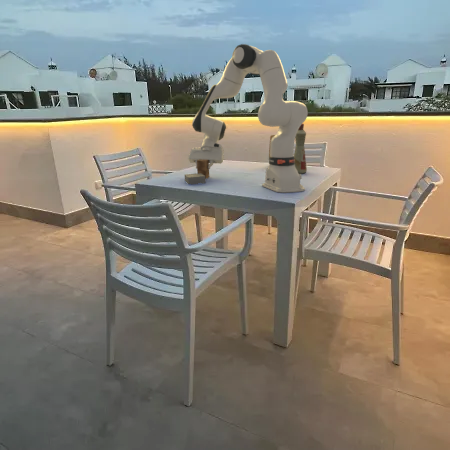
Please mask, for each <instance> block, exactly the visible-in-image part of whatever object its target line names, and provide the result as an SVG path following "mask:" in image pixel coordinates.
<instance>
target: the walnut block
mask: <svg viewBox="0 0 450 450" xmlns="http://www.w3.org/2000/svg"><path fill="white" fill-rule="evenodd" d="M209 164H210V163H209V160H207V159H199V160H197V173H201V174H203V175H204V176H205V180H206V178H207V179H209V178H210V169H207V165H209ZM197 173H196V174H197ZM208 177H209V178H208Z"/></svg>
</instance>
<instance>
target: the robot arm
mask: <svg viewBox="0 0 450 450" xmlns="http://www.w3.org/2000/svg"><path fill="white" fill-rule="evenodd" d="M281 61H282V60H281V59H280V56H279V55H278V53H277V52H276V51H275V50H273V49H267V50H264V51H263V50H261V49H259V48H257V47H255V46H252V45H249V44H246V43H245V44H244V43H241V44H239V45H237V46H235V48H234V49H233V52H232V57H231V58H230V59H229V60H228V62H227V64H226V66H225V68H224V71H223V73H222V76H221V77H220V80H219V82H218V83H217V84H213V85H212V86H211V87H210V89H209V90H208V93H207V94H206V96H205V97H204V98H205V99H204V100H203V102H202V104H201V106H200V108H199V110H198V111H197V113H196V114H195V116H194V117H193V119H192V125H191V126H192V128H193V130H194V131H195V132H198V133H202V134H203V140H202V142H201V146H200V147H193V148H191V149H190V152H189V154H188V157H187V160H188V161H189V162H190V163H193V164H196V165H195V169H197V160H199V159H207V160H209V165H207V169H209V170H210V169H211V167H213V166H214V164H218V165H219V164H220V165H221V164H223V163H224V159H225V155H224V154H225V151H224V148H223V145H222V144H220V143H219V141H221V140H222V139H223V138H224V136H225V131H226V129H227V125H226V123H225V121H223V120H221V119H218V118H215V117H213V116H210V115H207V112H208V110H209V109H210V106H211V105H212V103H213V101H215V100H218V99H231V98H234V97H236V96H238V94H239V92H240V91H241V89H242V86H243V83H244V81H245V79H246V76H247V75H248V74H251V75H254V76H255V75H256V76H259V77H260V81H261V85H262V89H263V96H264V97H263V98H264V99H263V102H262V104H261V105H260V106H259V108H258V112H257V118H258V121H259V123H260V125H262V126H265V127H272V128H274V127H278V130H277V132H276V134H274V135H275V136H274V137H272V139H271V142H270V141H269V146H270V156H269V155H268V164H269V165H268V166H267V167H266V169H265V178H264V183H262V184H261V187H263V188H266V189H269V190H271V191H273V192H276V193H298V192H303V191H305V190H306V188H305V187H304V186H303V185H302V184H301V180H302V179H303V177H302V174H298V171H297V170H296V168H295V165H294V164H295V159H294V153H295V142H296V139H295V137H296V134H297V131H298V129H299V127H300V126H301V124H304V122H305V121H306V120H307V117H308V113H309V112H308V107H307V105H306V104H305V103H303V102H299V101H297V100H296V101H295V100H284V96H283V94H285V93H286V91H287V89H288V86H289V85H288V80H287V76H286V74H285V70H284V66H283V64H282V62H281Z"/></svg>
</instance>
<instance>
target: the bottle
mask: <svg viewBox="0 0 450 450" xmlns="http://www.w3.org/2000/svg"><path fill="white" fill-rule="evenodd" d="M304 126H305V124H304V123H302V124H301V126H300V127H299V129H298V131H297V134H296V137H295V146H294V152H293V156H294V159H295V164H294V165H295V168H296V170H297V171H298V174H299V175H300V174H301V175H302V174H306V173H307V160H306V149H305V142H306V136H307V131H305V130H304Z"/></svg>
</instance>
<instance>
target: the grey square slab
mask: <svg viewBox="0 0 450 450" xmlns="http://www.w3.org/2000/svg"><path fill="white" fill-rule="evenodd" d="M185 181H186V182H187V183H188V184H191V185H199V184H198V183H202V184H206V179H205V176H204V175H203V174H201V173H186V174H184V182H185ZM186 182H185V183H186ZM187 183H186V184H187ZM188 184H187V185H188Z"/></svg>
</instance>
